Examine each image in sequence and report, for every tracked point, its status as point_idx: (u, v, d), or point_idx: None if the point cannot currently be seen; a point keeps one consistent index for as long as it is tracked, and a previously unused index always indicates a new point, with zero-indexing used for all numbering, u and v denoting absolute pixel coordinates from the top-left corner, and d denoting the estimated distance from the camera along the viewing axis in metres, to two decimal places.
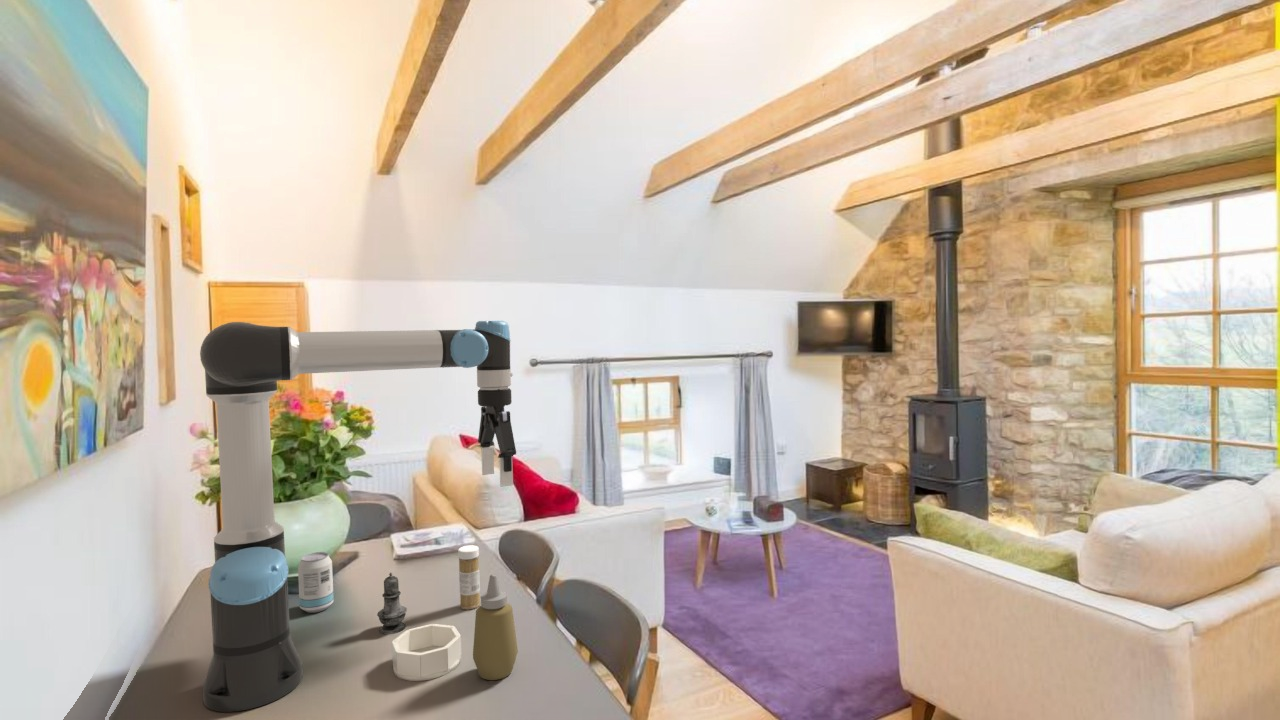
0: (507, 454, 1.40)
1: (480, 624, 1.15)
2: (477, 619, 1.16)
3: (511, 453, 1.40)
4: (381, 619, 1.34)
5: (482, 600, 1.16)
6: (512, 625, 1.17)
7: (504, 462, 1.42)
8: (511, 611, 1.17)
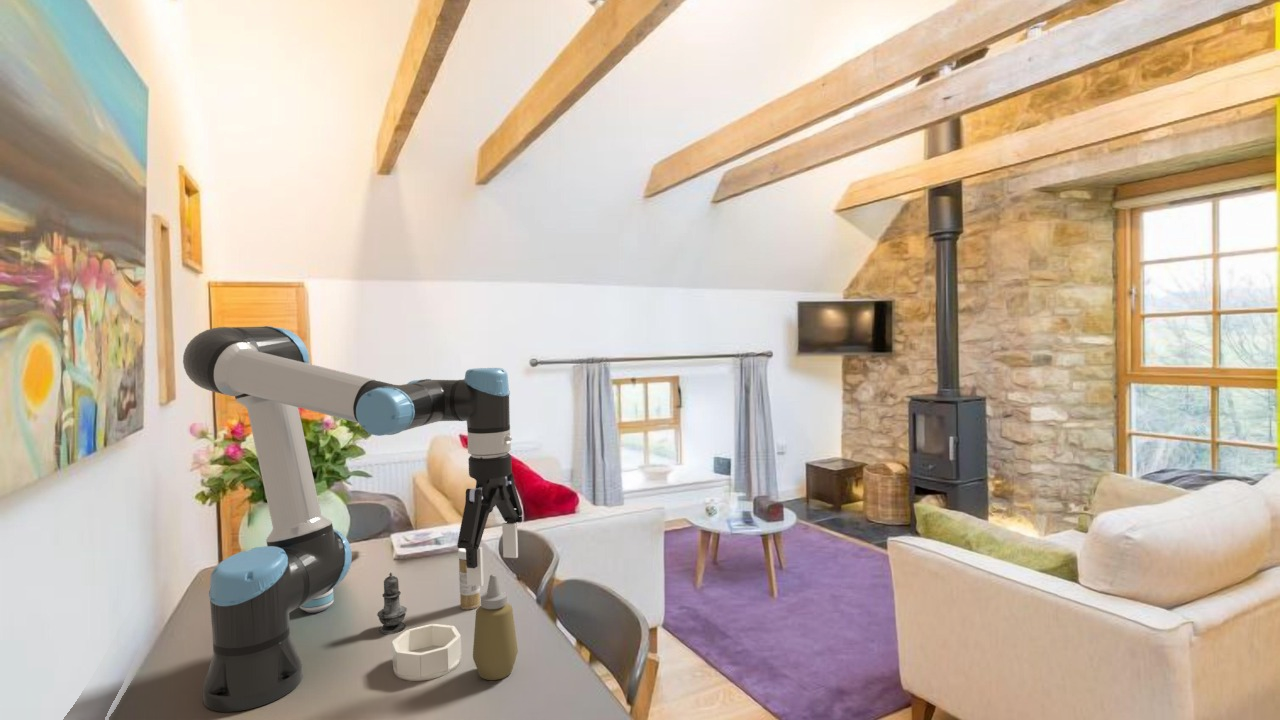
0: (460, 547, 1.07)
1: (480, 624, 1.15)
2: (477, 619, 1.16)
3: (464, 546, 1.07)
4: (381, 619, 1.34)
5: (482, 600, 1.16)
6: (512, 625, 1.17)
7: None
8: (511, 611, 1.17)
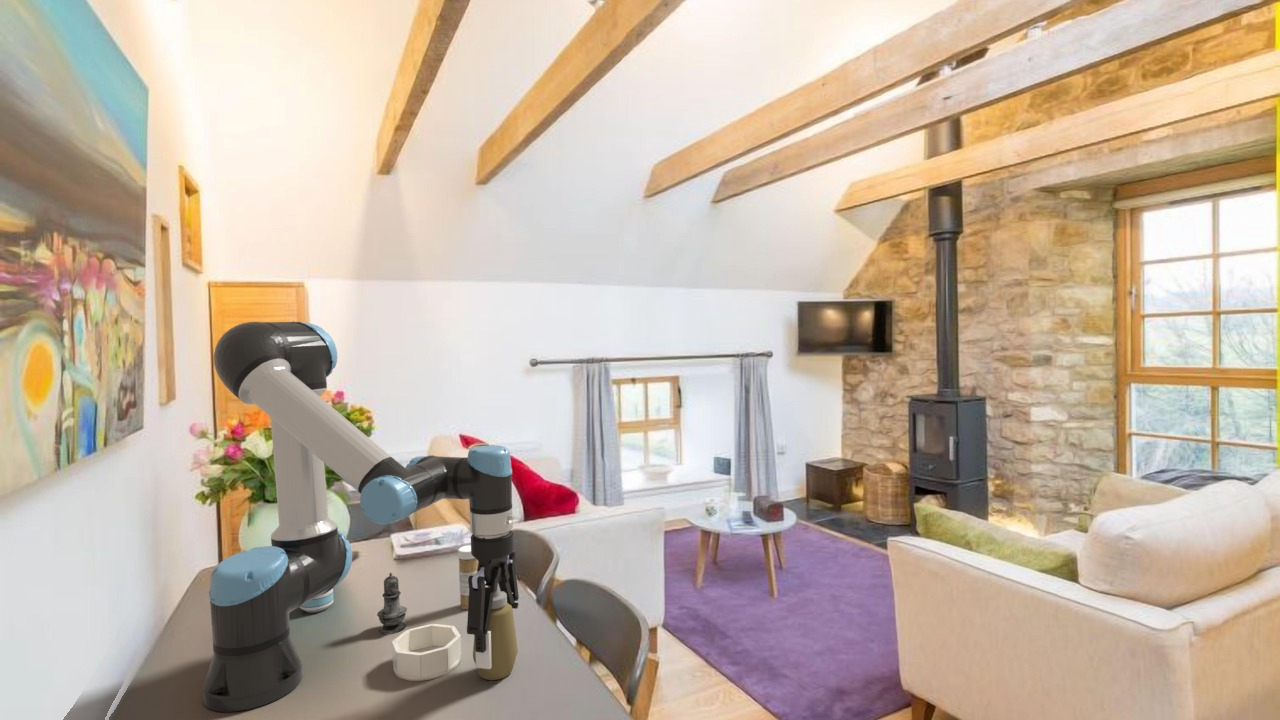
0: (470, 633, 1.11)
1: None
2: None
3: (474, 633, 1.10)
4: (381, 619, 1.34)
5: None
6: (512, 625, 1.17)
7: None
8: (511, 611, 1.17)
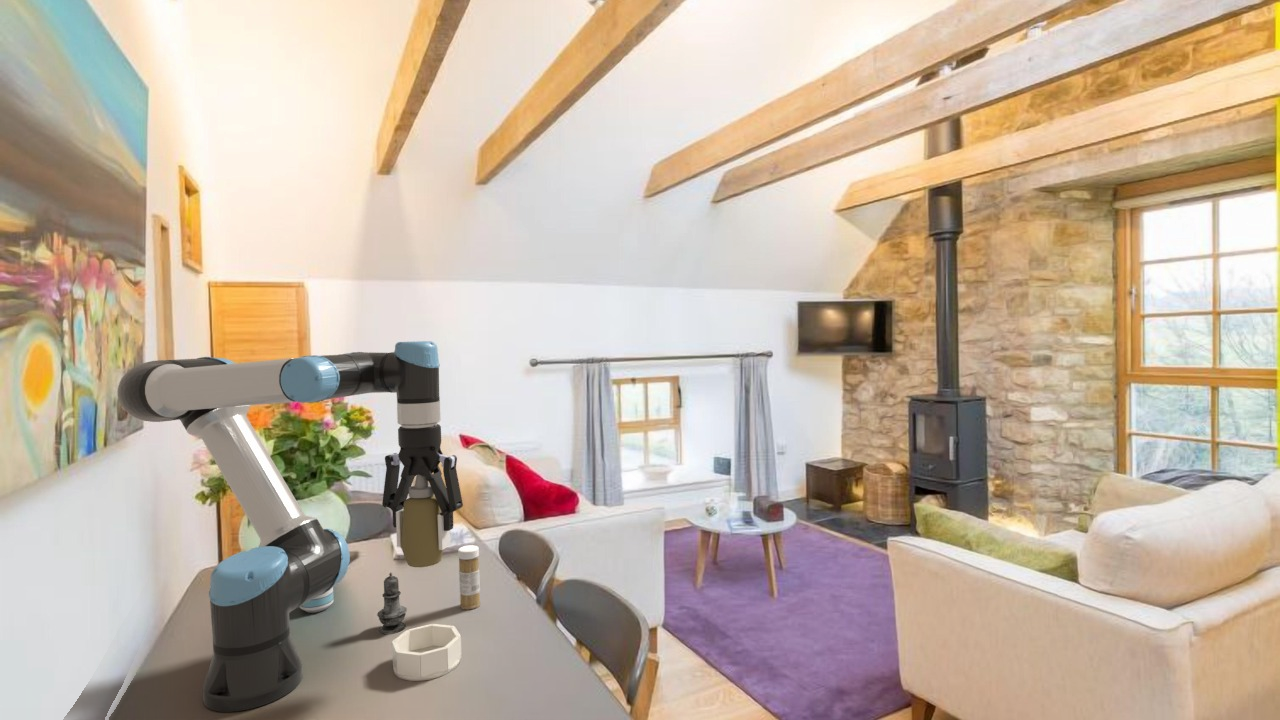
0: (456, 509, 1.18)
1: (434, 510, 1.19)
2: (428, 508, 1.18)
3: (459, 507, 1.19)
4: (381, 619, 1.34)
5: (427, 490, 1.18)
6: None
7: (445, 519, 1.18)
8: None
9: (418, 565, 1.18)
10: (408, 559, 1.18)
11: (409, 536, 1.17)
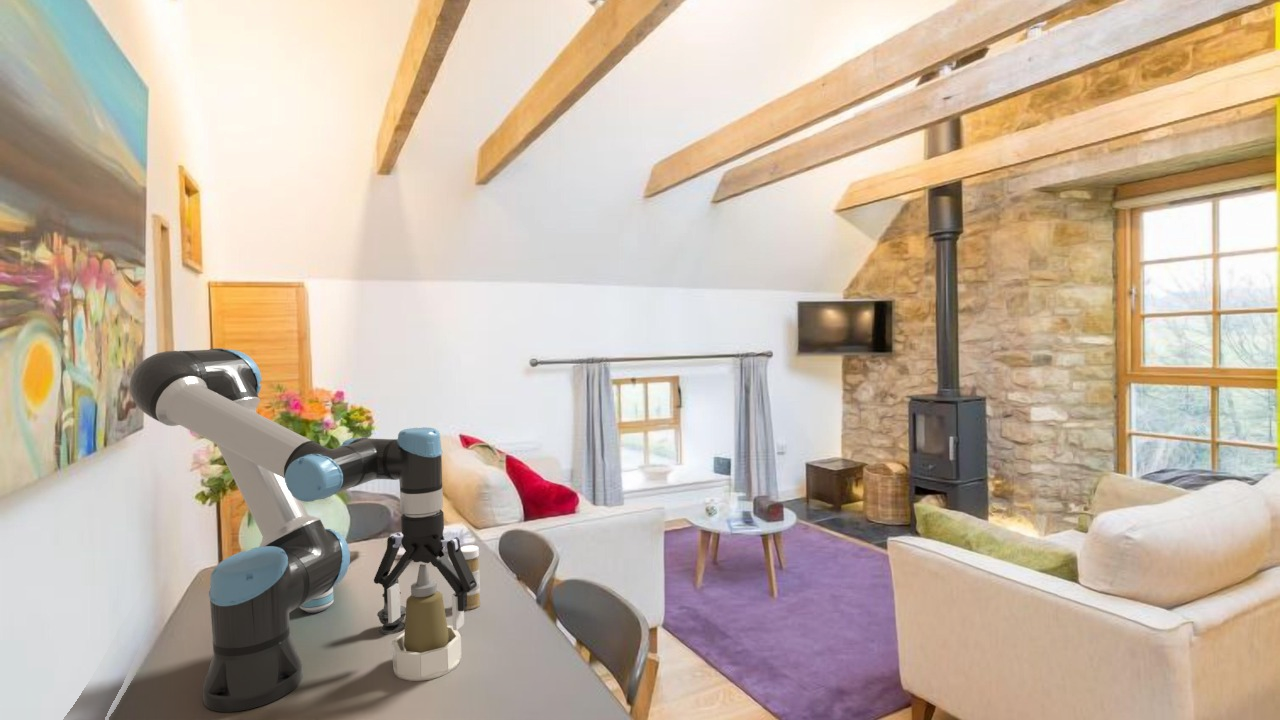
0: (470, 590, 1.18)
1: (436, 608, 1.20)
2: (431, 607, 1.19)
3: (473, 587, 1.19)
4: (381, 619, 1.34)
5: (428, 588, 1.20)
6: None
7: (459, 600, 1.19)
8: None
9: None
10: None
11: (412, 636, 1.18)
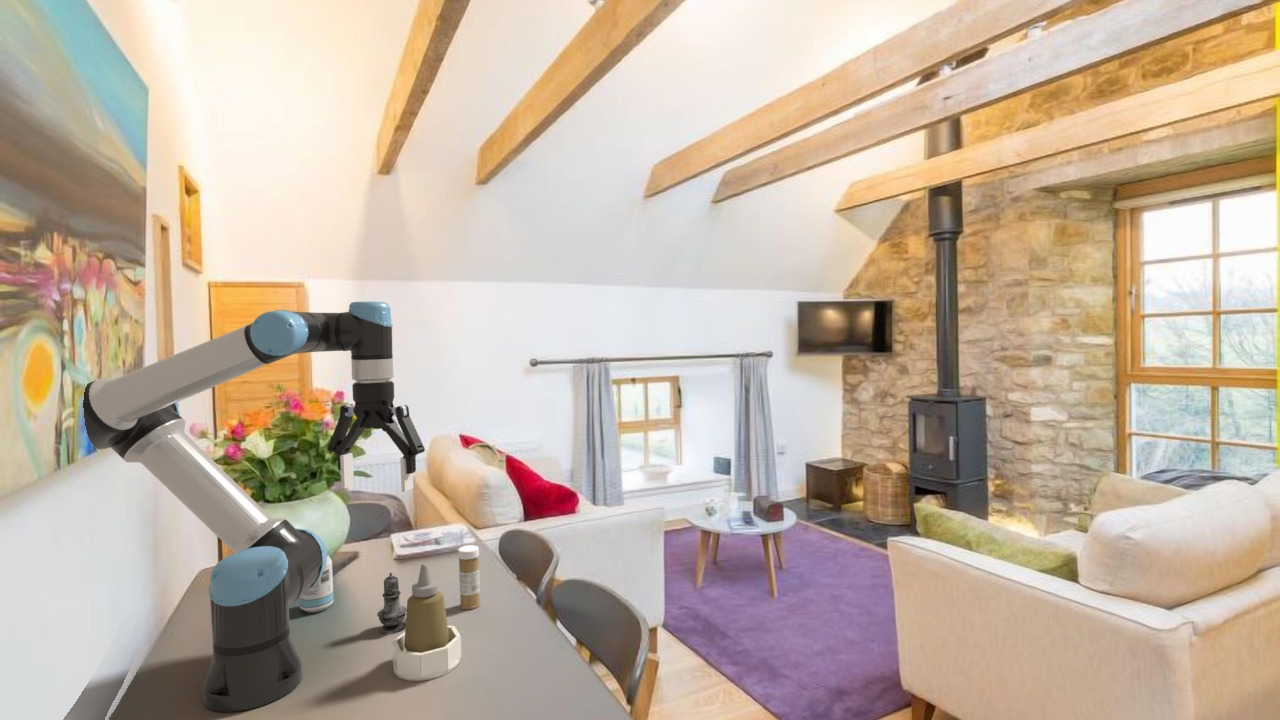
0: (418, 452, 1.24)
1: (437, 609, 1.19)
2: (431, 608, 1.19)
3: (421, 451, 1.25)
4: (381, 619, 1.34)
5: (430, 589, 1.19)
6: None
7: (407, 463, 1.25)
8: None
9: None
10: None
11: (412, 636, 1.18)
